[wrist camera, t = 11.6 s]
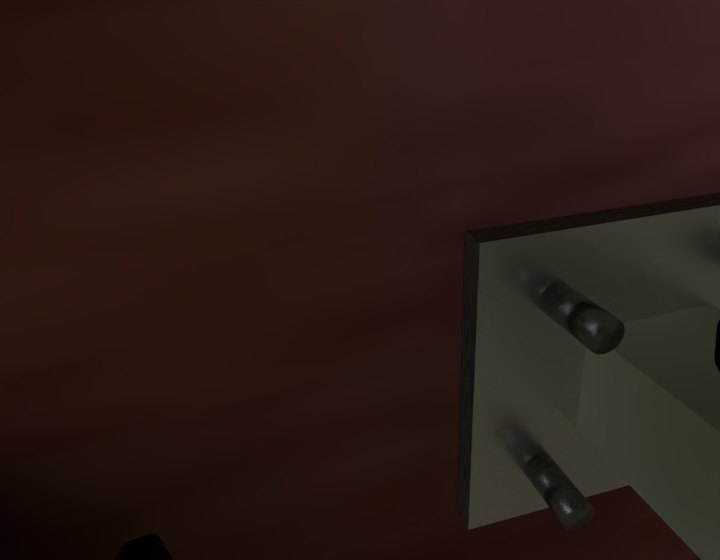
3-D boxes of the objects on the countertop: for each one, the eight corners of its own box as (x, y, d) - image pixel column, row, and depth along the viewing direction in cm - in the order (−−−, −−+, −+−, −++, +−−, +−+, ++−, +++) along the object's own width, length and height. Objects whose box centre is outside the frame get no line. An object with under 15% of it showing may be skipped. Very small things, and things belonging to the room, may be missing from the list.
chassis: (457, 509, 27) (500, 587, 23) (465, 231, 21) (524, 276, 17) (733, 435, 30) (808, 492, 27) (807, 179, 25) (917, 207, 21)
